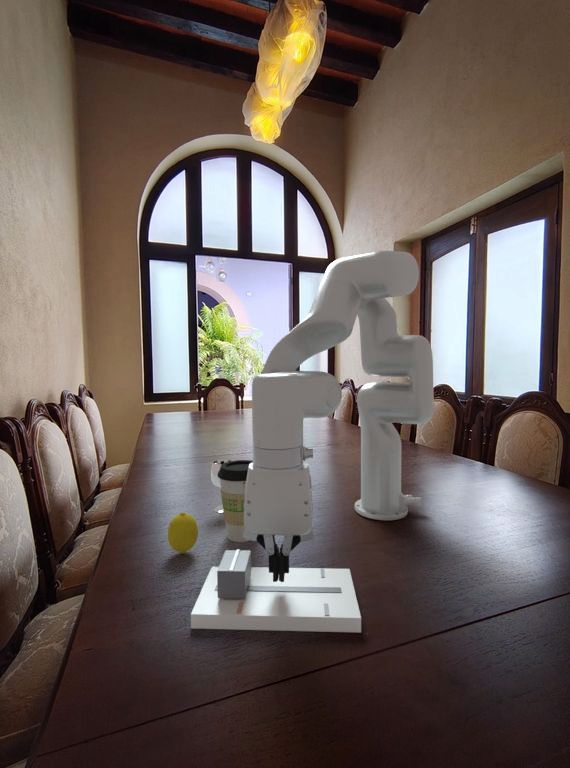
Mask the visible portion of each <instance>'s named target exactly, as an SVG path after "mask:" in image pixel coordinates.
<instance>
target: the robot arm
mask: <svg viewBox="0 0 570 768" xmlns="http://www.w3.org/2000/svg"><path fill="white" fill-rule="evenodd" d="M419 278H420V269H419V265H418V262H417V260H416V258H415V256H414V255H413V254H412V253H410V252H408V251H399V250H398V251H397V250H396V251H395V250H379V251H378V250H377V251H372V252H366V253H362V254H361V253H360V254H355V255H351V256H346V257H341V258H338V259H336V260H334V261H333V262H331V263H330V264H329V265H328V266H327V268H326V270H325V272H324V274H323V276H322V279H321V282H320V284H319V287H318V290H317V292H316V295H315V296H314V300H313V302H312V305H311V306H310V310H309V312H308V315H307V316H306V317H305V318H304V319H303V320H301V321H300V322H299V323H298V324H296V325H295V326H294V327H293V328H292V329H290V331H288V333H287V334H286V335H284V336H283V337H282V338H281V339H279V341H278V342H277V343H276V344H275V345H274V347H273V348H272V349H271V351H270V353H269V355H268V356H267V358H266V361H265V363H264V365H263V368H262V370H261V373H260V374H258V375H255V377H253V380H252V383H251V413H252V414H251V418H252V423H251V426H252V427H251V428H252V461H253V462H252V463H250V464H249V467H248V473H247V479H246V487H245V502H244V532H243V537H244V538H245V539H248V540H250V541H253V542H257V543H258V544H259V546H261V547H262V548H263V549H264V550H265V552H266V554H267V555H268V567H269V573H273V582H277V581H278V577H279V581H280V582H284V576H285V573H289V568H290V555H291V552H292V551H293V550H294V549H296V547H297V546H298V545H299V544H300V543H305V542H309V541H314V540H315V530H314V529H315V528H314V526H313V521H314V520H313V519H314V517H313V514H314V511H313V509H314V507H313V491H312V490H313V489H312V477H311V471H310V466H309V464H308V462H305V461H306V460H308V459H313V458H314V449H313V448H309V447H306V446H305V445H304V419H307V418H309V419H310V418H311V419H322V418H326V417H329V416H330V415H333V414H334V413H335V412H336V410H338V408H339V406H340V404H341V402H342V399H343V398H342V396H343V391H342V387H341V384H340V381H339V380H338V379H337V377H336V376H334V375H333V374H331V373H329V372H325V371H320V370H319V371H318V370H297V369H298V368H299V367H300V366H301V365H302V364H303V363H304V362H305V361H307V360H308V359H310V358H312V357H313V356H315V355H318V354H320V353H322V352H325V351H327V350H330V349H331V348H333V347H335V346H337V345H339V344H341V343H343V342H344V341H345V342H346V340H347V339H348V338H349V337H350V336H351V334H352V332H353V329H354V326H355V323H356V320H357V318H358V323H359V336H360V337H359V343H360V358H361V365H362V366H361V367H362V370H363V372H364V373H365V374H366V375H368V376H370V377H382V378H385V377H386V378H407V379H408V382H400V381H399V382H396V381H373V382H368V383H365V384H363V385H361V387H360V388H359V390H358V393H357V395H356V403H357V410H358V411H357V412H358V415H359V425H360V499H358V500H357V501H355V503H354V510H355V512H356V513H357V514H359V515H360V516H362V517H364V518H368V519H372V520H376V521H396V520H400V519H403V518H405V517H406V516H407V515H408V511H409V510H408V507H409V506H422V504H423V500H422V497H420V496H419V497H418V496H416V497H415V496H413V494H404V493H402V439H401V436H400V434H399V432H398V430H397V428H396V427H395V425H394V424H393V423H398V424H409V425H423V424H426V423H429V422H430V421H431V419H432V418H433V416H434V415H433V413H434V410H435V409H434V406H435V405H434V404H435V398H434V397H435V396H434V395H435V394H434V360H433V358H434V357H433V350H432V346H431V343H430V341H429V340H428V339H427V338H426V337H424V336H423V335H419V334H409V335H408V334H407V335H406V334H405V335H399V334H398V323H397V321H398V319H397V314H396V313H397V312H396V311H395V308H394V307H393V306H392V304H391V303H390V301H388V300H387V299H388V298H396V297H399V298H400V297H403V296H408V295H411V294H412V293H413V292H414V291H415V290H416V287H417V286H418V283H419V281H420V280H419ZM386 298H387V299H386ZM275 536H283V542H282V543H281V545H280V547H279V545H278V544H277V542H276V537H275Z"/></svg>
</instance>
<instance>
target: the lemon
mask: <svg viewBox="0 0 570 768" xmlns="http://www.w3.org/2000/svg"><path fill="white" fill-rule="evenodd" d="M198 535H199V529H198V523H197V521H196V519H195V517H194V516H193V515H191V514H189V513H186V512H185V511H183V512H182V511H181V512H180V513H178V514H177V515H175V516H174V517H173V518H172V520H171V521H170V522H169V526H168V530H167V539H168V544H169V546H170V548H171V549H173V550H174V551H175V552H178V553H180V554H182V555H184V554H186V553H187V552H188V551H190V550H192V548H193V547H194V546H195V545H196V543H197V541H198V537H199V536H198Z"/></svg>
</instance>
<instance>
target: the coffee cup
mask: <svg viewBox="0 0 570 768" xmlns="http://www.w3.org/2000/svg"><path fill="white" fill-rule="evenodd" d="M252 462H253V459H252V460H250V459H238V460H231V461H230V462H226V463H223V464H222V465H221V467H220V470H219V471H218V477H219V478H220V484H221V488H220V496H221V505H222V504H223V512H224V513H223V518H224V522H225V530H226V537H227V539H228V540H230V541H231V542H235V543H236V542H237V543H246V542H249V541H251V540H248V539H245V538H244V537H243V532H244V502H245V487H246V479H247V473H248V467H249V464H250V463H252Z"/></svg>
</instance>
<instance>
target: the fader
mask: <svg viewBox="0 0 570 768" xmlns="http://www.w3.org/2000/svg"><path fill="white" fill-rule="evenodd" d="M251 555H252V553H251V550H241V549H240V548H239V549H238V548H237V549H236V550H235V549H234V550H233V549H232V550H231V549H230V550H229V549H225V550H224V553H223V555H222V558H221V561H220V563H219V565H218V567H219V568H218V570H217V589H218V598H242V599H245V598H246V594H247V589H248V585H249V581H250V577H251V567H252V557H251Z"/></svg>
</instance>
